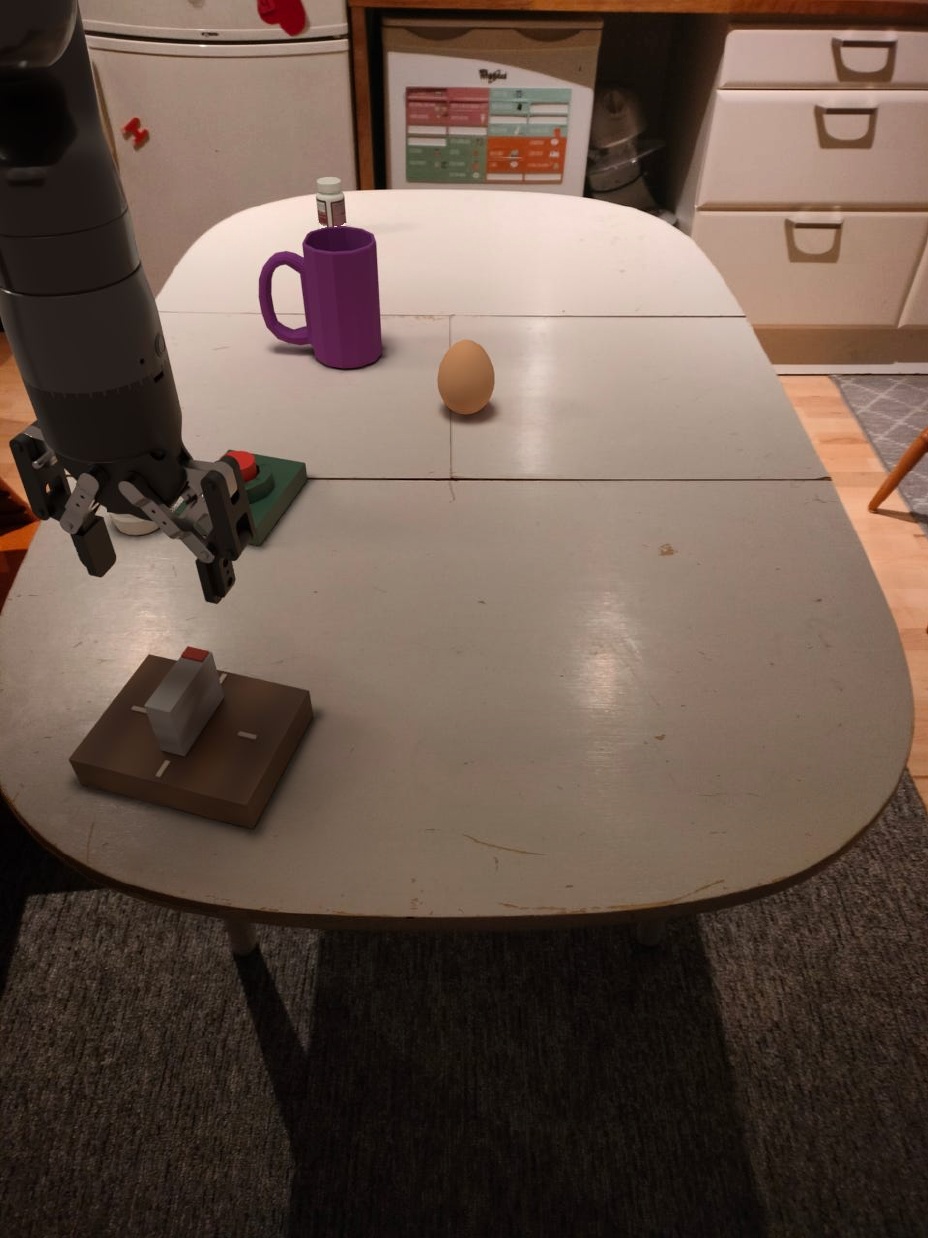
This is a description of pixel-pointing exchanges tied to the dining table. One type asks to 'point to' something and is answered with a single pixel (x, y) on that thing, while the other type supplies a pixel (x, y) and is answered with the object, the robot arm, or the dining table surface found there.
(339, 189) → the pill bottle
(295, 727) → the panel
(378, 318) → the mug
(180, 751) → the tap handle
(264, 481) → the switch
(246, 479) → the red push button
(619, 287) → the dining table surface
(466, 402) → the egg
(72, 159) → the robot arm
